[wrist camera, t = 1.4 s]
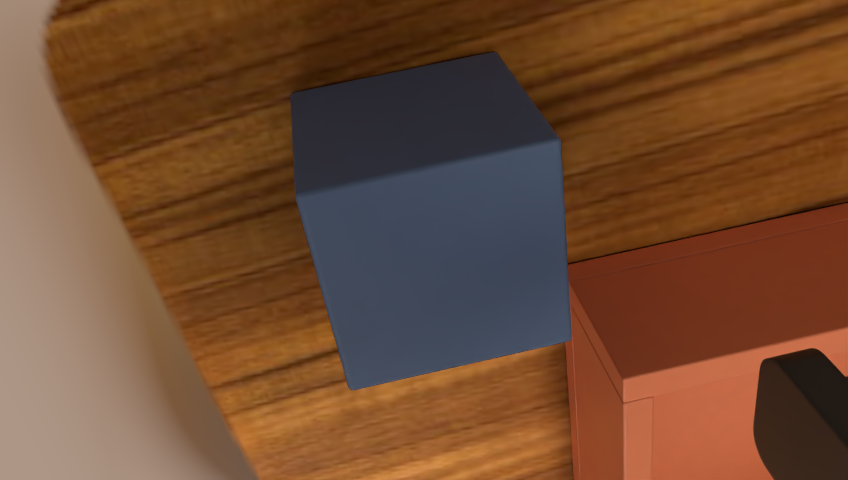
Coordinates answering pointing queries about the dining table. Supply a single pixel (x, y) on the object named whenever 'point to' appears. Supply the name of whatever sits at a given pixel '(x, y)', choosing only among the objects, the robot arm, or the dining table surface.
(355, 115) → the blue block
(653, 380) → the red bin
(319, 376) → the dining table surface
